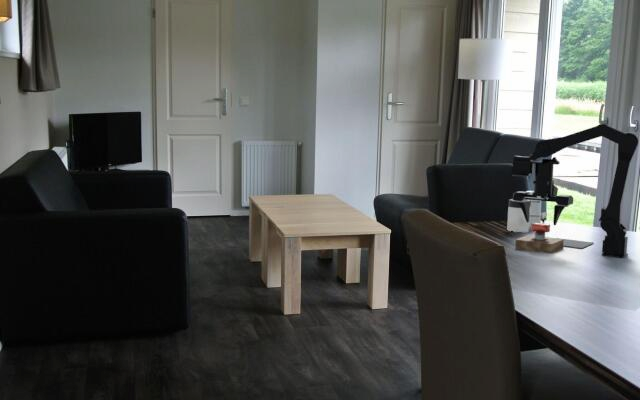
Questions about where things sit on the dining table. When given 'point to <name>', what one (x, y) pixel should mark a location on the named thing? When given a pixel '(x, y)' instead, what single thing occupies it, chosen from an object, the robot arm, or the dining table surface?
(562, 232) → the dining table surface
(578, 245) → the mat
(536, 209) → the syrup box
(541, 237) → the no entry disc
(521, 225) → the jar
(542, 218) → the eagle figurine
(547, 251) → the eye block
